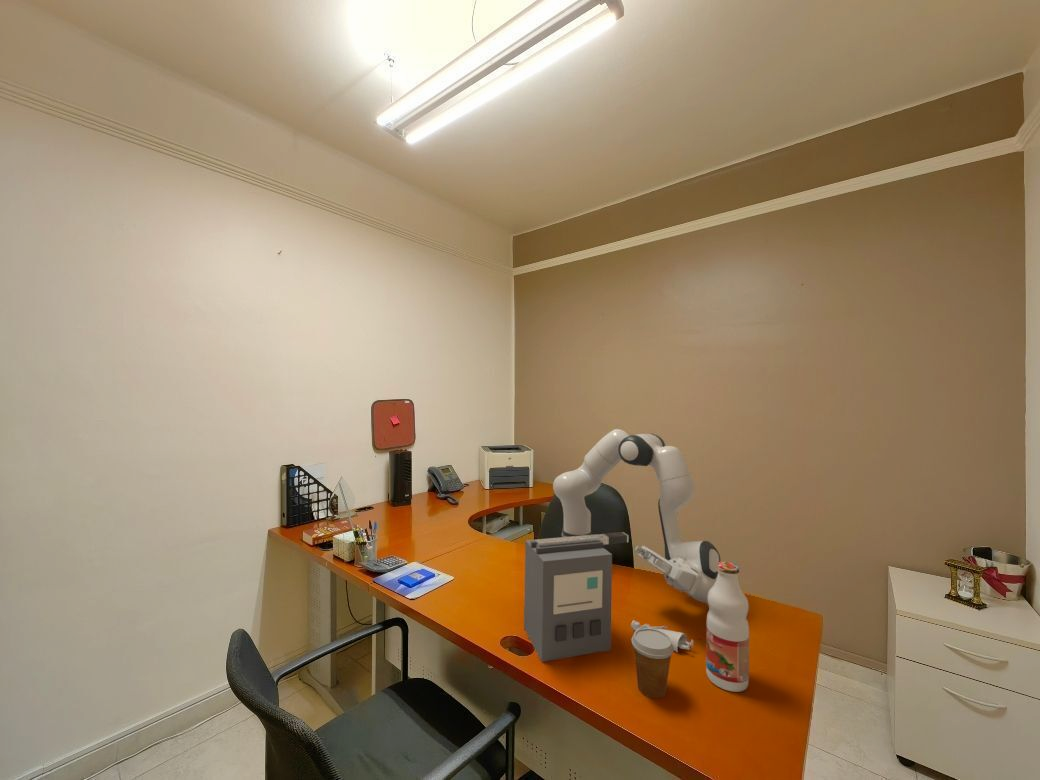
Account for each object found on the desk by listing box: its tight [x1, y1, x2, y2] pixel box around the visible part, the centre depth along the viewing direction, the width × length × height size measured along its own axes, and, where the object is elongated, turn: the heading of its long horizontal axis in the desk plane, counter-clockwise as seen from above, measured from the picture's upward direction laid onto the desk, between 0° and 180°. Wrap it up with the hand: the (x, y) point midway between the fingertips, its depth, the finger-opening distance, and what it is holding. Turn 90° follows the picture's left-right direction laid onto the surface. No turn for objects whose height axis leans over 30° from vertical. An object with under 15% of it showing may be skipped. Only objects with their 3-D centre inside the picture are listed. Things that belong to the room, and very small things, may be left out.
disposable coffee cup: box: [630, 628, 674, 699], centre depth 97 cm, size 10×10×12 cm
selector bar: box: [535, 531, 630, 548], centre depth 119 cm, size 3×28×2 cm, turn 106°
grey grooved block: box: [523, 535, 613, 663], centre depth 117 cm, size 17×20×27 cm
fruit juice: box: [705, 561, 750, 693], centre depth 101 cm, size 9×9×28 cm
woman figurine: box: [630, 620, 694, 653], centre depth 117 cm, size 12×4×18 cm
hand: (645, 554), depth 125 cm, fingers open, 8 cm apart
